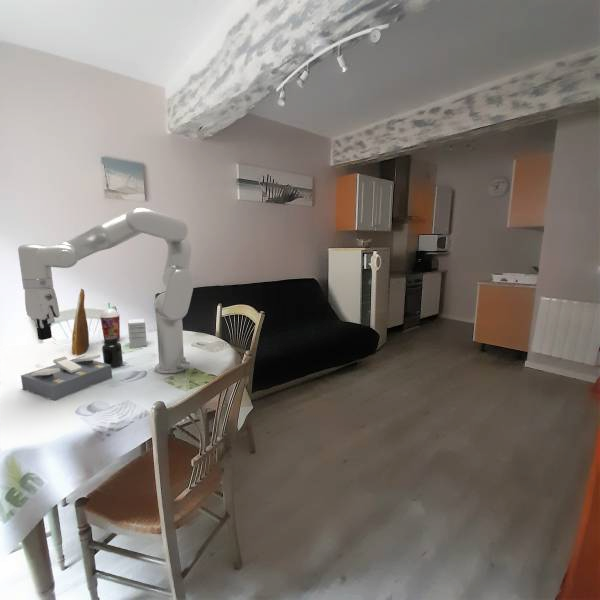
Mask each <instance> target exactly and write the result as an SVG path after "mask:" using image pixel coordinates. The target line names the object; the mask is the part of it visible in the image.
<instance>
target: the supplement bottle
mask: <svg viewBox="0 0 600 600" xmlns="http://www.w3.org/2000/svg"><path fill="white" fill-rule="evenodd" d="M103 342H104V344H103V345H102V347H101V352H102V359H103V363H106V364H109V365H111V369H114V368H115V369H116V368H120V367H121V366H122V365H123V363H124V361H123V360H124V359H123V350H122V344H121V343H120V342H119V341H118V337H116V336H110V337H106V338H104V337H103Z"/></svg>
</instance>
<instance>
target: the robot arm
mask: <svg viewBox="0 0 600 600" xmlns="http://www.w3.org/2000/svg"><path fill="white" fill-rule="evenodd" d="M141 234H146V235H149V236H152V237H157V238H160V239H163V240H164V241H165V243H166V244H167V256H166V261H165V265H164V269H163V274H162V279H161V280H162V283H163V284H164V286H166V287H165V291H164V292H161V293H160V294H158V295H157V296H156V298H155V300H154V313H155V319H156V330H157V331H156V334H157V350H158V351H157V352H158V363H156V365H155V367H154V370H155V371H156V372H157V373H159V374H166V375H167V374H168V375H169V374H175V373H180V372H183V371H185V370H186V369H188V368H189V366H190V365H191V362H190V361H187V359H186V357H185V355H184V333H183V332H184V331H183V330H184V329H183V328H184V327H183V319H184V317H186V315H187V314H188V311H189V310H190V309H189V308H190V304H191V300H192V296H193V292H194V287H195V277H194V275H193V272H191V271H190V270H189V268H190V263H191V262H190V261H191V256H192V246H191V242H190V240H189V237H188V234H189V228H188V226H187V224H186V222H185V221H183V220H182V219H181V218H179V217H175V216H172V215H169V214H165V213H162V212H158V211H155V210H152V209H149V208H145V207H137V208H133V209H130V210H128V211H126V212H123V213H122V214H119V215H117V216H114V217H113V218H111V219H108V220H106V221H103V222H100V223H99V224H97V225H95V226H93V227H91V228H90V229H89V230H87V231H84V232H83V233H81V234H78V235H76V236H74V237H72V238H70V239H68V240H65V241H63V242H60V243H58V244H56V245H45V244H21V245H20V246H18V248H17V252H18V259H19V266H20V267H19V268H20V274H21V281H22V289H23V290H24V305H25V311H26V315H27V316H28V317H29V318H30V319H31V320H32V321H34V324H35V328H36V332H37V339H38V340H41V341H44V340H48V339H52V337H53V335H52V329H51V327H52V324H54V323H55V322H56V321H55V318H56V319H57V318H59V317H60V309H59V308H60V307H59V303H58V298H57V294H56V291H55V288H54V282H53V272H52V268H61V269H69V268H72V267H74V266H75V265H76V264H77V263H78V262H79V261H81V260H82V259H85V258H87V257H89V256H92V255H93V254H96V253H98V252H101V251H105V250H108V249H109V250H110V249H112V248H115V247H117V246H118V245H121V244H123V243H125V242H126V241H128V240H131V239H133V238H135V237H137V236H139V235H141Z"/></svg>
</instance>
